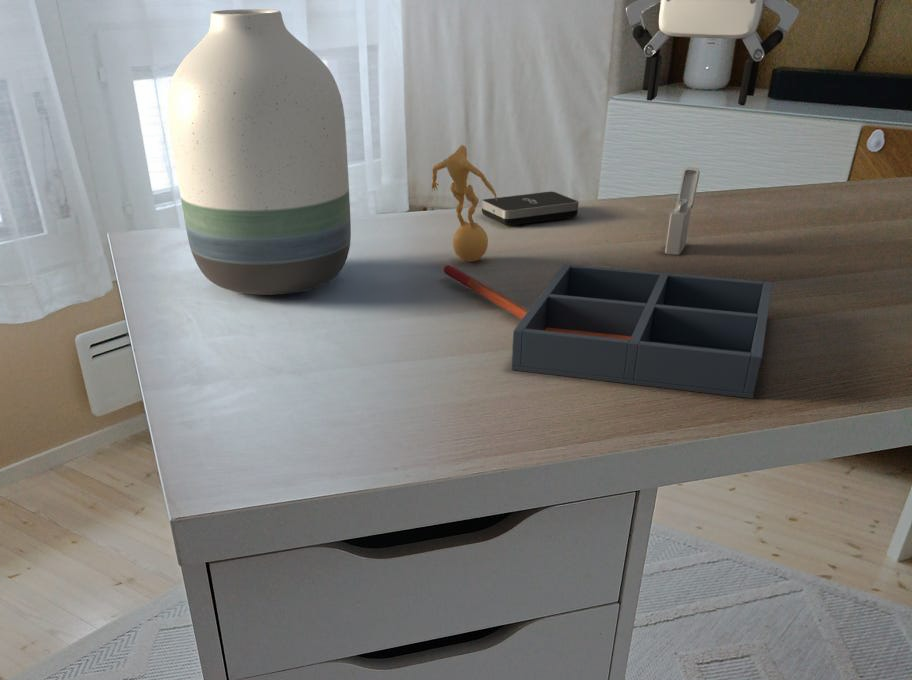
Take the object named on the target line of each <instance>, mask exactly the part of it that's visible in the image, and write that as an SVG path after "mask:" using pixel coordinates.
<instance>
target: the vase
mask: <svg viewBox="0 0 912 680" xmlns="http://www.w3.org/2000/svg"><path fill="white" fill-rule="evenodd" d="M209 24H210V25H209V29H208V32H207V33H206V34H205V35H204V37H203V38H202V39H201V40H200V41H199V43H197V45H196V46H195V47H194V48H192V50H190V51H189V53H187V55H186V56H185V57H184V58H183V60H181V62H180V64H179V65H178V67H177V69H176V70H175V72H174V73H173V76H172V79H171V82H170V86H169V89H168V90H169V91H168V98H167V99H168V100H167V119H168V127H169V133H170V134H169V135H170V142H171V147H172V153H173V158H174V165H175V172H176V178H177V183H178V190H179V196H180V201H181V206H182V207H181V208H182V213H183V218H184V224H185V225H184V226H185V230H186V236H187V240H188V244H189V248H190V251H191V254H192V257H193V259H194V261H195V263H196V265H197V267H198V269H199V270H200V272H201V273H202V274H203V276H204V277H205V278H206V279H207V280H208V281H210V282H211V283H212V284H214V285H216V286H218V287H219V288H222V289H224V290H228V291H231V292H235V293H239V294H244V295H245V294H246V295H257V296H260V295H261V296H272V295H273V296H275V295H285V294H286V295H287V294H295V293H300V292H304V291H309V290H313V289H316V288H319V287H320V286H322V285H324V284H327V283H329V282H330V281H332V280H333V279H335V278H336V277H337V276H338V275H339V274H340V273H341V271H343V268H344V267H345V265H346V262H347V259H348V256H349V252H350V248H351V240H352V238H351V237H352V228H351V227H352V226H351V225H352V223H351V221H352V219H351V201H350V198H351V197H350V182H349V181H350V179H349V162H348V147H347V146H348V145H347V131H346V119H345V118H346V117H345V109H344V104H343V99H342V95H341V93H340V90H339V87H338V83H337V82H336V80H335V77H334V75H333V73H332V72H331V70H330V69H329V67H328V66H327V65H326V64H325V63H324V62H323V60H322V59H321V58H320V57H319V56H318V55H317V54H315V53H314V51H312V50H311V49H310V48H309V47H307V46H306V45H305V44H304V43H302V41H300V40H299V39H298V38H296V36H294V35H293V34H292V33H291V32H290V31H289V30H288V29H287V27H286V25H285V21H284V20H283V15H282V11H280V10H278V9H266V8H265V9H263V8H249V9H248V8H246V9H245V8H244V9H239V8H238V9H223V10H215V11H212V12H210V23H209Z"/></svg>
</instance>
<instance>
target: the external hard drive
mask: <svg viewBox="0 0 912 680" xmlns="http://www.w3.org/2000/svg"><path fill="white" fill-rule="evenodd" d="M579 203H580V201H579V200H577V199H574V198H572V197H569V196H567V195H564V194H561V193H559V192H556V191H550V190H549V191H542V192H533V193H524V194H516V195H508V196H507V195H506V196H499V197H497V201H496V199H495V197H491V198H484V199H481V212H482V215H484V216H485V217H488V218H490V220H491V219H492V220H494V221H496V222H497V223H500V224H502V225H504V226H508V227H510V226H512V227H513V226H515V225H524V224H532V223H539V222H547V221H555V220H561V219H564V220H565V219H570V218H574V217H576V216H577V215H578V213H579Z"/></svg>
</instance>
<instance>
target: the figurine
mask: <svg viewBox="0 0 912 680" xmlns="http://www.w3.org/2000/svg"><path fill="white" fill-rule="evenodd" d="M467 158H468V149H467V147H466V146H465V145H464V144H462V145H460V146H458V148H457V150H456V151H454V152H453V153H452V154H450V155H449V156H448V157H447V158H444V159H443V160H442V161H441V162H438V163H436V164H435V165H434V166H433V167H432V170H431V171H432V172H431V173H432V174H431V176H432V177H431V190H432V191H436V190H437V191H438V186H440V184H438V182H437V177H438V171H440V170H442V169H445V168H446V170H447V172H448V174H449V176H450V178H451V180H452V183H451V184H450V192H451V193H452V196H453V197H454V198H455V200H457V202H458V204H457V206H456V207H455V208H456V209H455V212H456V217H457V219H458V221H459V224H460V226H459V227H458V228H457V229H456V231H455V232H454V234H453V236H452V248H453V251H454V253H455V255H456V256H457V257H458V258H459V259H460V260H462V261H465V262H468V263H469V262H476V261H478V260H480V259H481V258H482V257H483V256H484V255H485V254H486V252H487V250H488V246H489V238H488V237H489V236H488V234H487V232H486V231H485V229H484V228H483V226H481V225H479V223H478V222H475V221H474V219H473V215H474V214H475V213H476V208H477V206H478V204H479V198H478V196H477V195H476V193H475V192H474V188H473V185H472V184H467V183H468V176H469V173H472V174H474V175H475V176H477V177H479V178H480V179H481V181H482V182H483V184H484V185H485V186H486V188H487V189H488V190H489V191H490V192H491V193H492V194H493V195H494V198H495V199H496V201H497V198H498V197H497V194H496V190H495V189H494V187H493V185H492V184H491V183H490V181H489V180H488V179H487V178H486V176H485V175H484V172H482V171H481V170H480V169H479V168H478V167H476V166H474V165H473V164H472V163H471V162H470V161H469V160H468V159H467ZM465 199H466V200H467V201H468V202H470V203H471V206H470V207H469V208H468V210H467V220H468V221H466V220H464V218H463V215H462V211H463V209H464V203H465Z"/></svg>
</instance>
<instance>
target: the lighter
mask: <svg viewBox="0 0 912 680" xmlns="http://www.w3.org/2000/svg"><path fill="white" fill-rule="evenodd" d="M699 179H700V169H699V168H698V167H691V166H690V167H689V166H685V167H684V168H683V171H682V176H681V181H680V185H679V190H678V196H677V200H676V203H675V207H674V208H673V209H672V210H671V212H670V213H669V214H670V215H669V220H668V221H669V222H668V229H667V234H666V242H665V249H664V254H667V255H675V256H676V255H677V256H678V255H681V254H682V253H683V250H684V249H685V247H686V244H687V236H688V231H689V223H690V218H691V211H692V209H693V207H694V204H695V198H696V193H697V188H698V184H699Z"/></svg>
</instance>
